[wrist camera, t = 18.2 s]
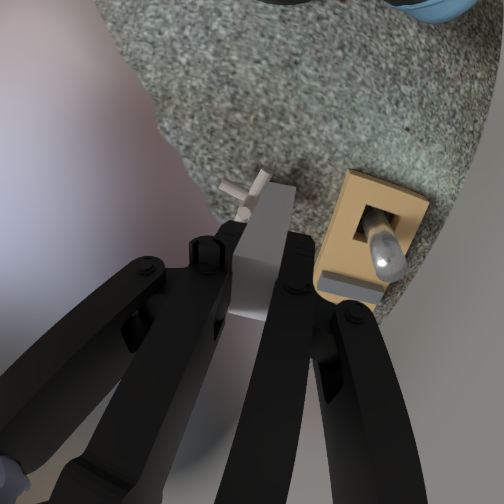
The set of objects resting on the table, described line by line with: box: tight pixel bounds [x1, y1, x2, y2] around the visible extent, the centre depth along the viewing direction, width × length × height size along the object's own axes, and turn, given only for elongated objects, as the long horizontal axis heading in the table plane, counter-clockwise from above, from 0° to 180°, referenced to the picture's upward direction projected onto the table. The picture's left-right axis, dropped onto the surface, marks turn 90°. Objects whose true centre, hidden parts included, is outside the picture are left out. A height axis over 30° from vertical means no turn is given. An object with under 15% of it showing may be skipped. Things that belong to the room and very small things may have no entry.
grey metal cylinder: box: [361, 207, 408, 283], centre depth 37 cm, size 4×4×14 cm
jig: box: [313, 169, 429, 311], centre depth 43 cm, size 24×14×5 cm, turn 170°
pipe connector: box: [219, 167, 273, 223], centre depth 40 cm, size 10×10×10 cm
